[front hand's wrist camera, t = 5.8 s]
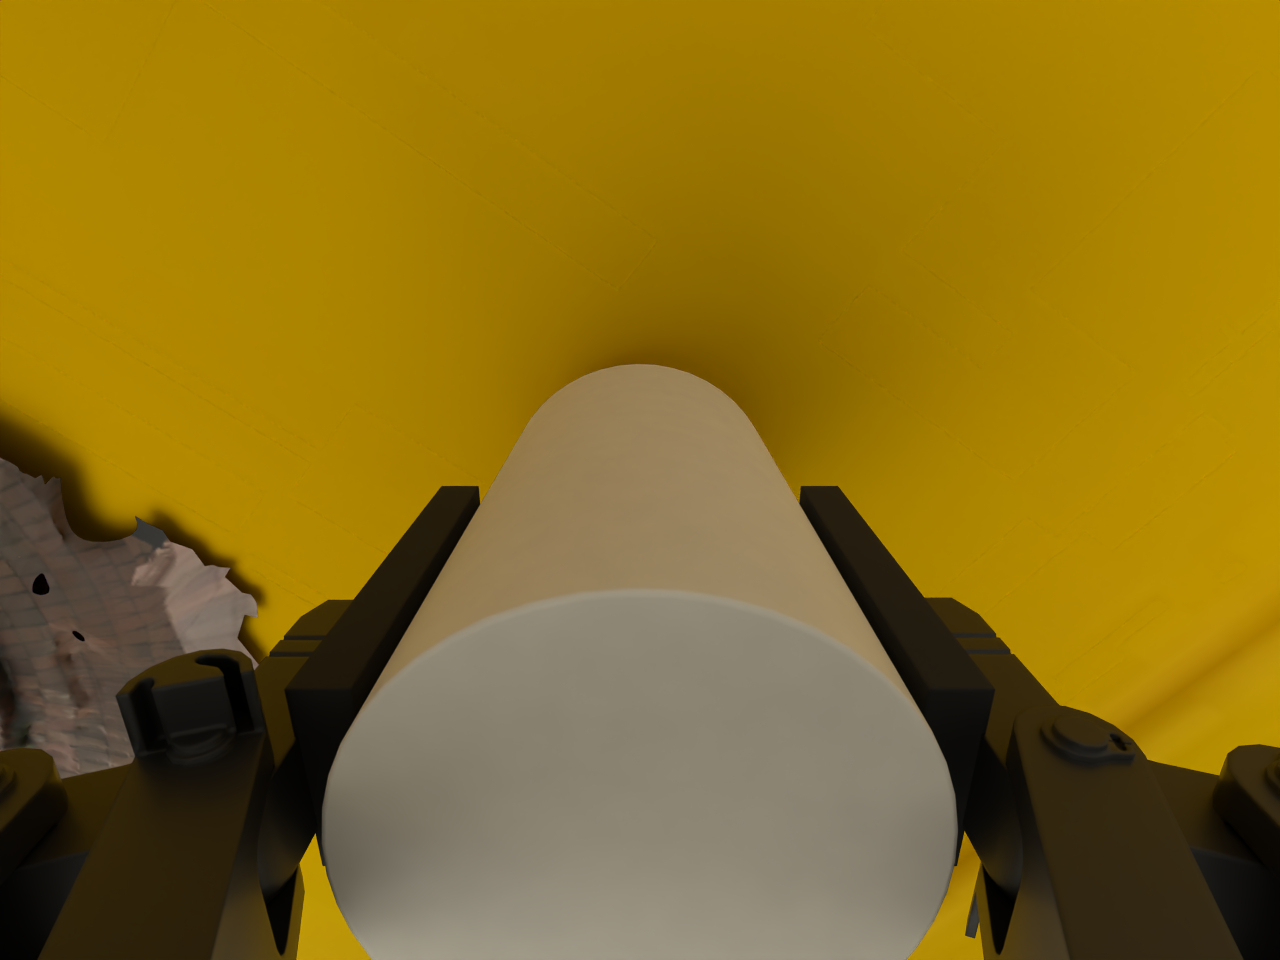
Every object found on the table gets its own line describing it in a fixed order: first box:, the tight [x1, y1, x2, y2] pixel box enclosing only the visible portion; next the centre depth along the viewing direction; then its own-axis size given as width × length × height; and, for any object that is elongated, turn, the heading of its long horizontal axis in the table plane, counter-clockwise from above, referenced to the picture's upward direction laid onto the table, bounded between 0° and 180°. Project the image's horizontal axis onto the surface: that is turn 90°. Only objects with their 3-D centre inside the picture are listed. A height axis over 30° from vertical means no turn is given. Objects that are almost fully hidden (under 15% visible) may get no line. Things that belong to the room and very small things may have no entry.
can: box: [322, 364, 958, 960], centre depth 12 cm, size 7×7×11 cm
